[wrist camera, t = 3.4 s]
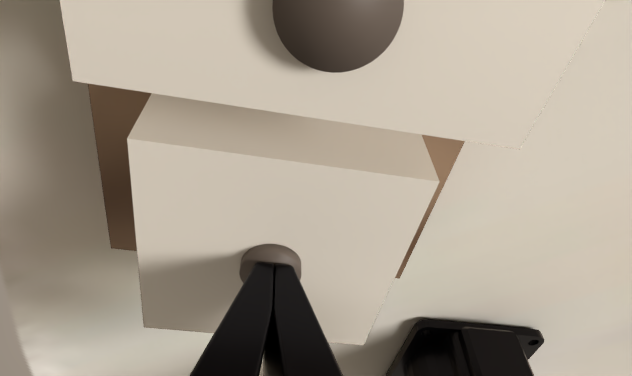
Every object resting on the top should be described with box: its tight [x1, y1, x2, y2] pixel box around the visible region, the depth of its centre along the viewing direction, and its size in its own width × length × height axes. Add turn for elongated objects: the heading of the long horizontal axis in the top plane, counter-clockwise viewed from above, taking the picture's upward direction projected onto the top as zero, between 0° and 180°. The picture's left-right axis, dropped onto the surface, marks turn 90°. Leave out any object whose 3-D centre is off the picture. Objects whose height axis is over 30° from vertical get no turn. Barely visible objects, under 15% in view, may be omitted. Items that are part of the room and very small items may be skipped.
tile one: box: [127, 93, 440, 345], centre depth 11 cm, size 6×6×3 cm
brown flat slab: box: [88, 83, 465, 278], centre depth 11 cm, size 16×10×2 cm, turn 169°
